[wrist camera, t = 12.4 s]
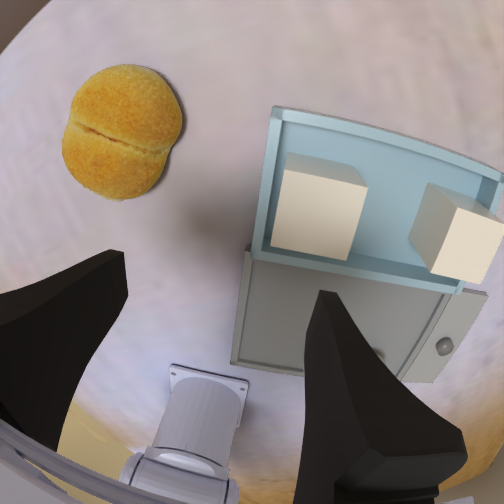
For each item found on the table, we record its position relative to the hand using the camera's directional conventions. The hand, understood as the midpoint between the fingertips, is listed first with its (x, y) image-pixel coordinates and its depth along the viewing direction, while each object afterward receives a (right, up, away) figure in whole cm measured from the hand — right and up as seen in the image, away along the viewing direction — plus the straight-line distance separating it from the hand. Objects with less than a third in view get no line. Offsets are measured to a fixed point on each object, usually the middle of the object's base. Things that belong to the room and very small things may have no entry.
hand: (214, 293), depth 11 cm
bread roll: (-7, +10, +8) cm, 15 cm away
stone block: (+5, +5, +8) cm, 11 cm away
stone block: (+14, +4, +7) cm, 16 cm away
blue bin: (+9, +5, +8) cm, 13 cm away
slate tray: (+10, -5, +13) cm, 17 cm away
